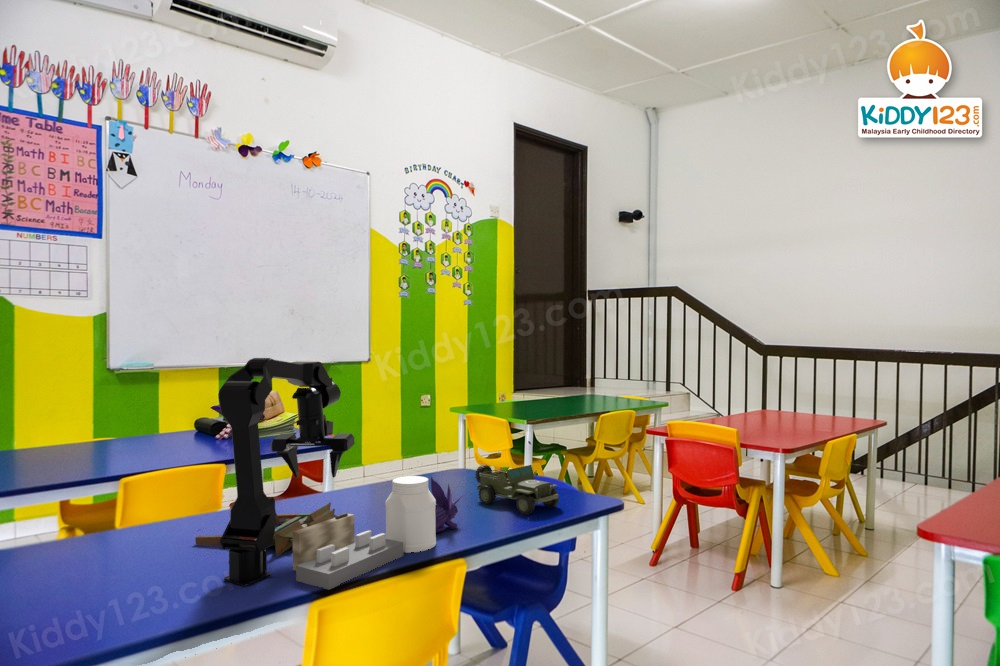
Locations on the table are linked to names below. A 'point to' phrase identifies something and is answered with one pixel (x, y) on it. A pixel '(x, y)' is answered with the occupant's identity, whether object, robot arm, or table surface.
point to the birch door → (322, 537)
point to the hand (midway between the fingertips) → (315, 477)
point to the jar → (411, 514)
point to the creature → (443, 507)
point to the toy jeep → (515, 487)
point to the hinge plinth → (348, 560)
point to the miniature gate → (282, 528)
